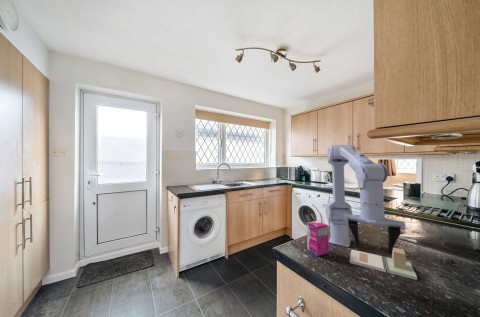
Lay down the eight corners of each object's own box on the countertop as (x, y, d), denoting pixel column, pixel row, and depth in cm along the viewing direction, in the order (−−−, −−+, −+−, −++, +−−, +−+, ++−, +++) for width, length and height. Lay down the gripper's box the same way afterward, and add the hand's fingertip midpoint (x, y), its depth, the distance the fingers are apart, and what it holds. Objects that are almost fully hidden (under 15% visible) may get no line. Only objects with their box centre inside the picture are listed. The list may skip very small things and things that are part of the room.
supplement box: (306, 250, 73) (306, 222, 74) (318, 248, 75) (317, 220, 76) (317, 257, 68) (316, 226, 68) (329, 254, 70) (328, 224, 70)
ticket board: (351, 251, 72) (351, 249, 72) (383, 259, 66) (383, 256, 66) (349, 263, 64) (349, 259, 64) (386, 272, 58) (385, 268, 58)
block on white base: (384, 259, 66) (383, 242, 66) (410, 265, 62) (409, 247, 62) (387, 272, 58) (386, 253, 58) (417, 280, 54) (416, 260, 54)
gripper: (342, 202, 55) (343, 248, 54) (406, 209, 47) (409, 262, 46) (344, 199, 61) (346, 240, 60) (402, 204, 52) (404, 252, 52)
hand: (373, 249), depth 53 cm, fingers open, 7 cm apart
